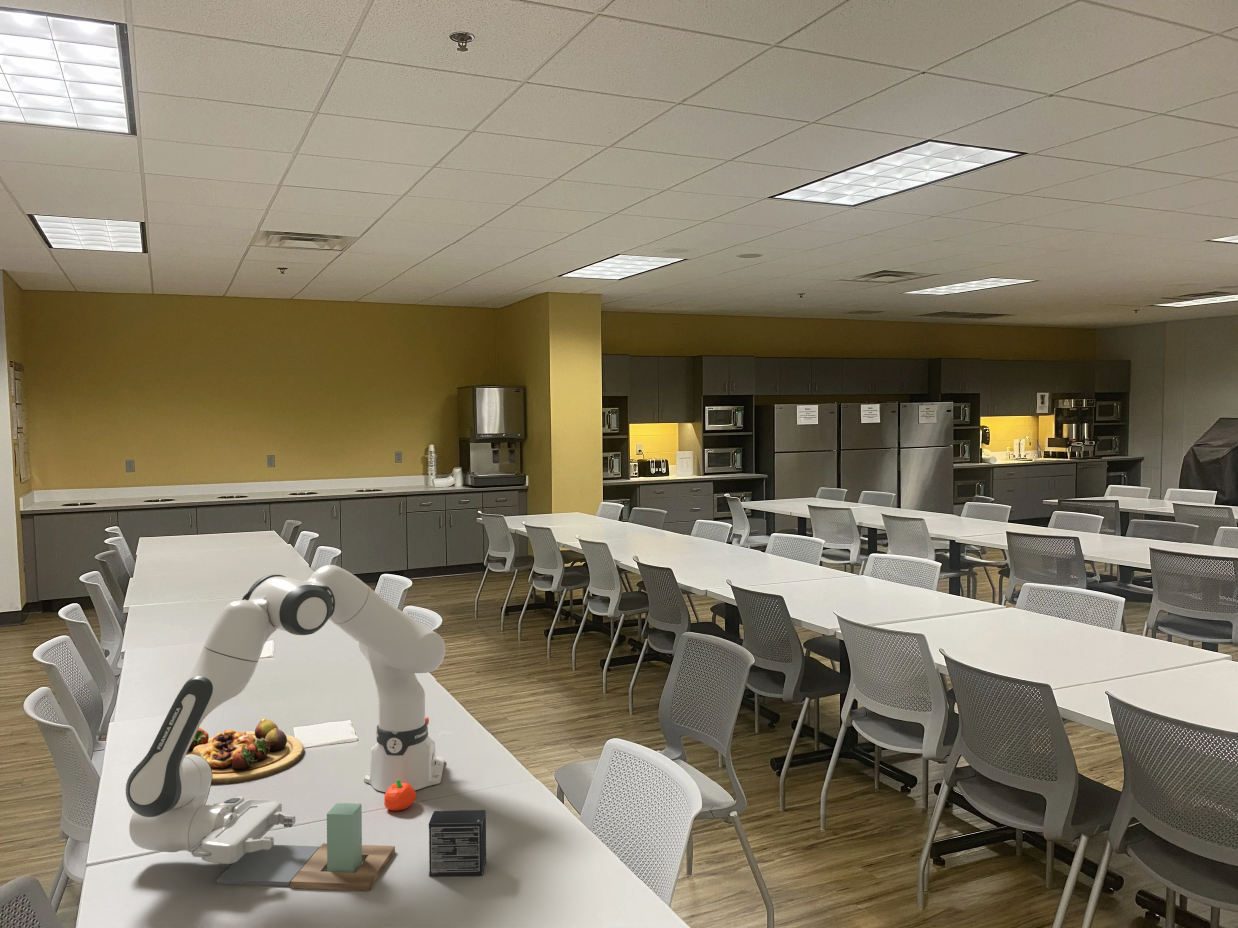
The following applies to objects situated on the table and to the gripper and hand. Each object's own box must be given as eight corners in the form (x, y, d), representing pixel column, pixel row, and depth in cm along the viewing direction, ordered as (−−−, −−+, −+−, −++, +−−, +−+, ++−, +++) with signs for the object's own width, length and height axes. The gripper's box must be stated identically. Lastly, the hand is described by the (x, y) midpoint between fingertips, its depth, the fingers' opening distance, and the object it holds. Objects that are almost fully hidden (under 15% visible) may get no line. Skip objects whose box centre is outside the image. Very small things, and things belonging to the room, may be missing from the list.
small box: (487, 859, 174) (487, 807, 173) (483, 876, 167) (483, 822, 167) (434, 860, 173) (433, 808, 173) (428, 877, 167) (427, 823, 167)
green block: (337, 862, 172) (336, 802, 172) (362, 862, 172) (361, 803, 172) (327, 874, 168) (326, 813, 167) (352, 875, 167) (352, 814, 167)
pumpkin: (385, 819, 193) (381, 791, 192) (385, 804, 201) (381, 777, 200) (418, 811, 195) (414, 783, 194) (416, 796, 202) (413, 770, 202)
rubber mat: (253, 847, 178) (253, 843, 178) (319, 850, 177) (319, 846, 177) (217, 883, 164) (217, 878, 164) (289, 885, 163) (289, 881, 163)
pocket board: (323, 848, 178) (323, 843, 178) (394, 851, 177) (394, 845, 177) (290, 887, 163) (290, 881, 163) (368, 890, 162) (368, 884, 162)
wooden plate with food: (141, 770, 219) (140, 738, 219) (247, 730, 247) (247, 701, 247) (226, 798, 204) (226, 764, 204) (329, 752, 232) (329, 722, 232)
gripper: (185, 837, 161) (257, 840, 160) (240, 792, 181) (305, 794, 180) (185, 871, 161) (258, 874, 160) (240, 822, 181) (305, 824, 180)
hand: (283, 831), depth 170 cm, fingers open, 8 cm apart
